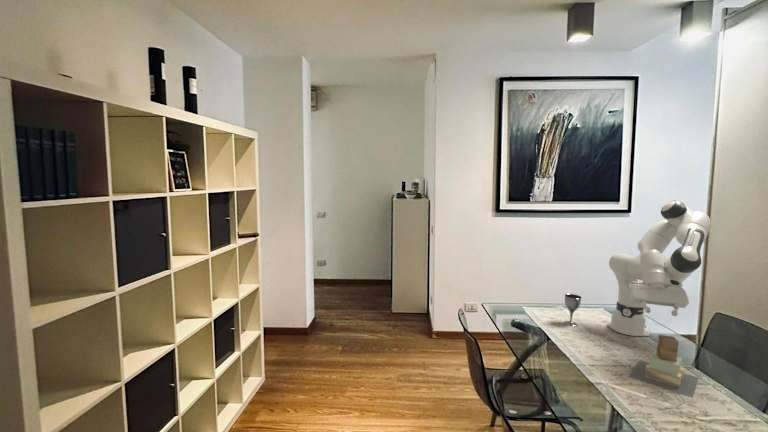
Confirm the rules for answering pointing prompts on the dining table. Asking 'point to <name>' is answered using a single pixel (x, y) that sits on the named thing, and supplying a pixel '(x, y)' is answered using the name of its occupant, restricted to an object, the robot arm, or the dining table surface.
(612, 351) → the dining table surface
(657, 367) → the tower top
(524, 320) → the dining table surface
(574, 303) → the wine glass
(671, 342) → the walnut block
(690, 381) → the mat
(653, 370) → the tower base
